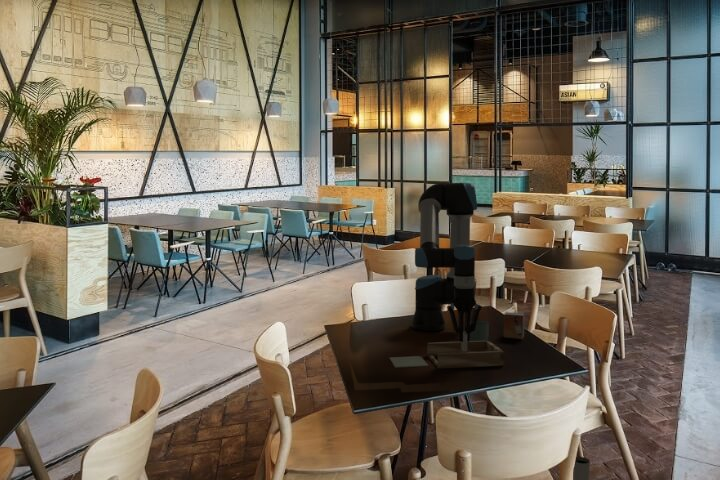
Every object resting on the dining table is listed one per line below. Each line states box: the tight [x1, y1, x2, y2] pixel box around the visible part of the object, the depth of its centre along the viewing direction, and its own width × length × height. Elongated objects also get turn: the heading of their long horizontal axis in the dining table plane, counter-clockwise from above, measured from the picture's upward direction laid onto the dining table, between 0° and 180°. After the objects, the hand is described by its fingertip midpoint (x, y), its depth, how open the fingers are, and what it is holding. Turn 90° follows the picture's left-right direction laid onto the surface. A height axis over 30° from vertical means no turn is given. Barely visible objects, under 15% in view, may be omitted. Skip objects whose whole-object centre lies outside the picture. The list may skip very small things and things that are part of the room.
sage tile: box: [389, 355, 429, 369], centre depth 218 cm, size 12×12×1 cm
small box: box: [503, 311, 526, 340], centre depth 252 cm, size 8×6×10 cm
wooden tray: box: [426, 339, 505, 369], centre depth 219 cm, size 17×24×5 cm
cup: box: [470, 320, 490, 341], centre depth 237 cm, size 8×8×10 cm
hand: (464, 350), depth 219 cm, fingers closed
